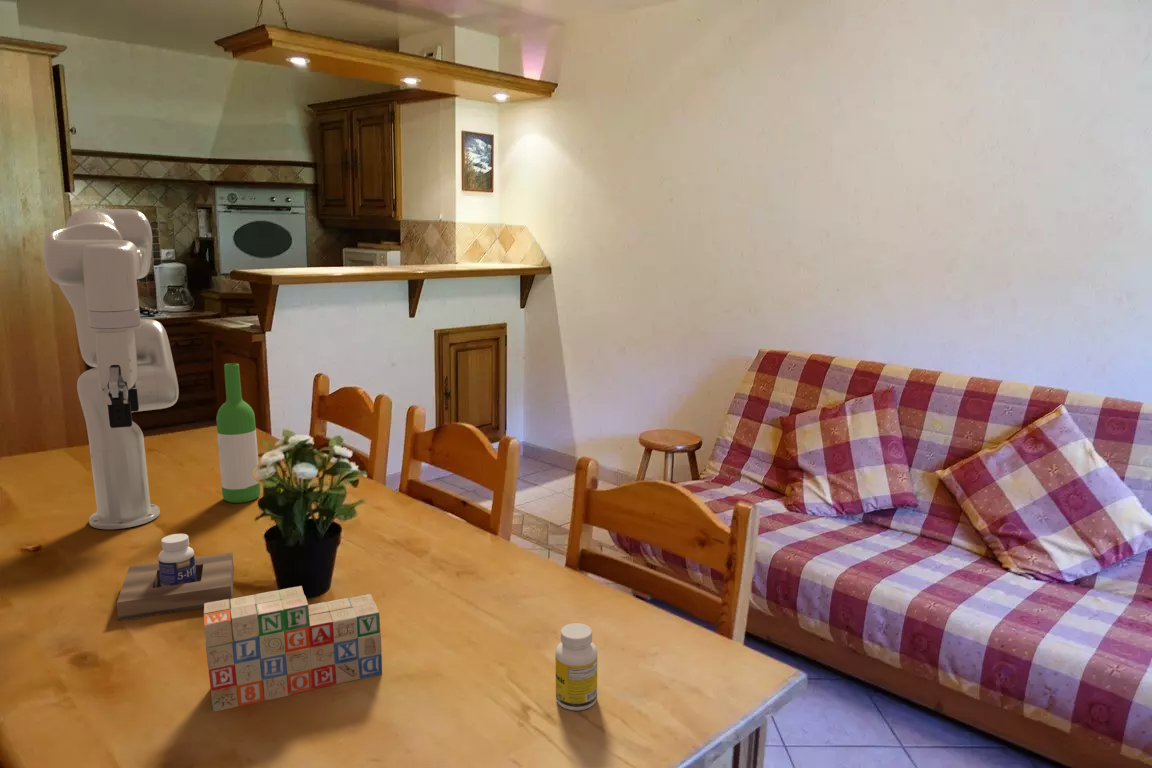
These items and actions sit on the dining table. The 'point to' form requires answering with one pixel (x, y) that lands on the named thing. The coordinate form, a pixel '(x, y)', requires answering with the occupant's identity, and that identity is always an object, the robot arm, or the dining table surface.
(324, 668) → the stack of blocks
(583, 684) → the supplement bottle
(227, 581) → the holder block
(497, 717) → the dining table surface
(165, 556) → the pill bottle
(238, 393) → the wine bottle
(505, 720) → the dining table surface
